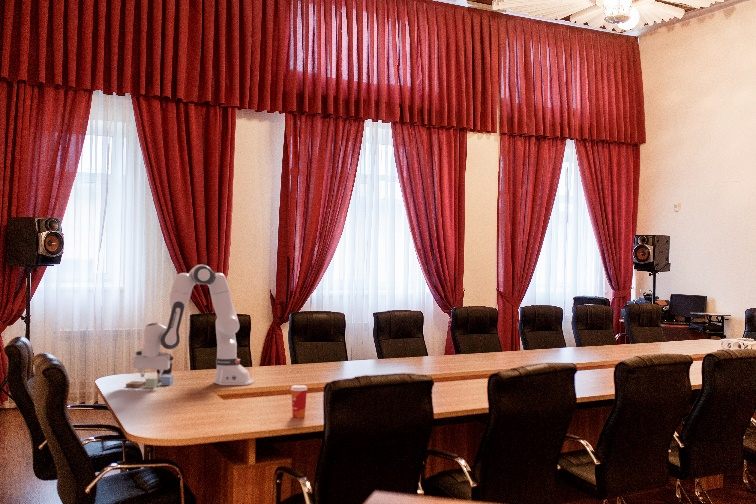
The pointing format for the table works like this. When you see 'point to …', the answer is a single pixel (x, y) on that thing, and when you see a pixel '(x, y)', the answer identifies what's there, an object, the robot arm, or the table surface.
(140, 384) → the baseplate
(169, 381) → the blue block
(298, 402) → the paper cup
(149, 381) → the green block
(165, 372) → the coffee cup
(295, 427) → the table surface
